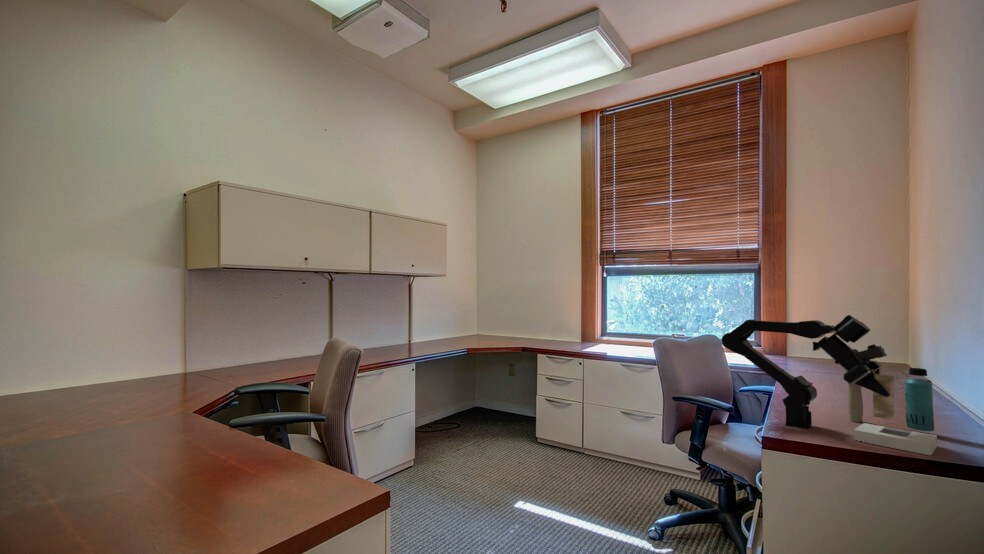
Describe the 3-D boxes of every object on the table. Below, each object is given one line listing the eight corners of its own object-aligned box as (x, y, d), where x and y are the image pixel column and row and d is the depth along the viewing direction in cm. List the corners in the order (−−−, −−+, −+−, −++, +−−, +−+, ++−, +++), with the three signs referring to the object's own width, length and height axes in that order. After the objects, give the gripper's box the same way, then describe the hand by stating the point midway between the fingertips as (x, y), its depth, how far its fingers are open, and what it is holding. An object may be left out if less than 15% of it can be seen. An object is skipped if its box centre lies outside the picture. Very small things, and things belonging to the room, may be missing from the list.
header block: (854, 440, 129) (853, 429, 129) (864, 432, 137) (863, 423, 137) (931, 455, 117) (930, 443, 117) (937, 446, 124) (936, 435, 124)
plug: (873, 416, 129) (872, 375, 129) (876, 414, 131) (875, 373, 132) (891, 419, 126) (890, 377, 126) (894, 417, 128) (893, 375, 129)
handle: (871, 423, 147) (869, 378, 148) (849, 422, 148) (847, 377, 149) (862, 420, 152) (860, 375, 153) (841, 418, 153) (839, 375, 154)
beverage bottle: (929, 432, 138) (926, 367, 139) (939, 437, 132) (936, 370, 133) (902, 429, 141) (899, 365, 142) (911, 434, 135) (908, 368, 136)
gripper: (856, 336, 127) (910, 381, 118) (871, 334, 139) (921, 374, 130) (823, 361, 133) (873, 405, 123) (840, 356, 144) (886, 397, 135)
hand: (889, 395), depth 128 cm, fingers closed on plug, 4 cm apart
